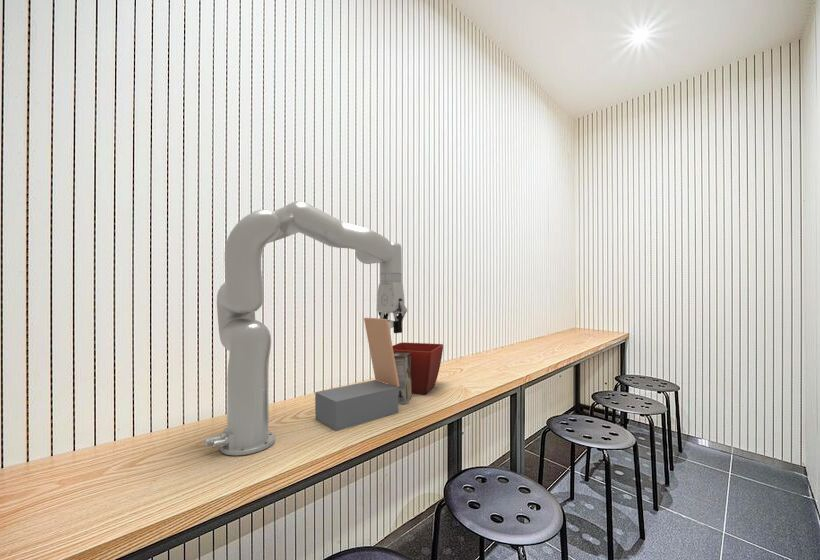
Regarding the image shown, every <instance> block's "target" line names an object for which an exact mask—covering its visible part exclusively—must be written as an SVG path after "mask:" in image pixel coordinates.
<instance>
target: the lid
mask: <svg viewBox="0 0 820 560" xmlns="http://www.w3.org/2000/svg"><path fill="white" fill-rule="evenodd" d="M394 321H395V320H390V319H389V318H388V319H380V318H376V317H375V318H374V317H364V318H363V322H364V327H365V330H366V331H365V332H366V337H367V342H368V348H369V352H370V358H371V364H372V368H373V374H374V380H376V381H380V382H383V383H386V384H390V385H393V386H397V387H398V386H400V385H399V380H398V374H397V368H396V363H395V357H394V352H393V341H392V335H391V329H394V325H393V322H394ZM389 329H390V330H389Z"/></svg>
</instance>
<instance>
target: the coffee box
mask: <svg viewBox="0 0 820 560" xmlns="http://www.w3.org/2000/svg"><path fill="white" fill-rule="evenodd" d="M394 357H395V363H396V368H397V374H398V380H399V385H400V386H398V405H399V404H400V405H402V404H404V405H406V404H408V402H409V401H410V399H411V398H412V395H413V393H412V389H411V353H394ZM389 385H390V384H389ZM396 387H397V386H396Z"/></svg>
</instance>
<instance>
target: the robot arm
mask: <svg viewBox="0 0 820 560" xmlns="http://www.w3.org/2000/svg"><path fill="white" fill-rule="evenodd" d="M298 233H300V234H302V235H304V236H306V237H309V238H311V239H313V240H316V241H317V242H319V243H322V244H323V245H326V246H328V247H330V248H331V247H332V248H336V249H337V248H338V249H350V250H355V257H356V259H357V260H358V261H359V262H360V263H362V264H364V265H371V264H372V265H373V264H379V284H378V289H377V295H376V297H377V299H376V311H377V313H378V316H379V319H388V320H389V316H390V313H391V314H392V315H393V319H394V320H393V321H394V322H393V325H394V327H393V334H402V333H403V321H404V318H405V315H406V314H407V312H408V308H407V307H406V306H405V305H406V304H405V291H404V286H403V275H402V274H403V265H402V263H403V262H402V260H403V256H402V255H403V254H402V253H403V252H402V245H401V243H398V242H391V241H390V240H389V239H388V238H386V237H385V236H384V235H382V234H380V233H378V232H377V231H374V230H372V229H370V228H366V227H364V226H360V225H357V224H354V223H350V222H346V221H342V220H340V219H339V218H336V217H334V216H333V215H330V214H328V213H326V212H325V211H323V210H321V209H320V208H318V207H315V206H313V205H311V204H309V203H308V202H306V201H302V200H296V201H292V202H290V203H288V204H286V205H285V206H283V207H281V208H278V209H275V210H273V211H271V210H268V209H259V210H258V209H257V210H255V211H253V212H251V213H249V214H247V215H246V216H244V217H242V218H241V219H240V220H239V221H238V222H237V223H236V224H235V226H234V227H233V229H232V230H231V231H230V233H229V235H228V237H227V239H226V243H225V246H224V247H225V248H224V280H225V281H224V283H222V284H221V285H220V287H219V289H218V291H217V295H216V311H217V312H216V313H217V323H218V333H219V339H220V343H221V345H222V346H223V347H224V349H226V350H227V351H228V352H229V355H228V356H229V357H228V364H227V379H226V381H227V383H226V385H227V393H226V394H227V396H226V397H227V398H226V399H227V404H226V405H227V409H226V412H227V413H226V415H227V417H226V418H227V422H226V423H227V425H226V426H227V427H226V428H223V432H220V433H219V434H217V435H212V436H208V437H205V439H204V445H205V447H209V446H213V447H214V448H216V447H219V450H220V452H221V453H222V454H224V455H227V456H245V455H251V454H255V453H258V452H261V451H264V450H266V449H268V448H270V447H271V446H272V445H273V444H274V443H275V441H276V435H275V434H274V433H273V432H271V431H269V368H270V367H269V366H270V356H271V355H270V354H271V348H272V337H271V336H272V335H271V332H270V330H269V328H268V327H267V326H266V324H264V323H263V322H261V321H259V320H257V319H256V312H257V311H258V310H260V308H261V307H262V305H263V303H264V300H265V294H264V286H263V274H262V271H263V270H262V255H263V251H264V248H265V247H266V245H267V244H270V243H272V242H273V243H274V242H276V241H279V240H281V239H285V238H287V237H290V236H292V235H296V234H298ZM389 330H390V331H391V328H390V329H389Z"/></svg>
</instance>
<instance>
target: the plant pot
mask: <svg viewBox="0 0 820 560" xmlns="http://www.w3.org/2000/svg"><path fill="white" fill-rule="evenodd" d="M392 346H393V352H394V353H411V389H412V394H418V395H426V394H428V393H429V392H430V391H431V390H432V389H433V388H434V387H435V386H436V383H437V380H438V375H439V371H440V368H441V364H442V358H443V351H444V343H443V344H442V343H426V342H425V343H423V342H405V341H403V342H402V341H401V342H399V343H396V344H392Z"/></svg>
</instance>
